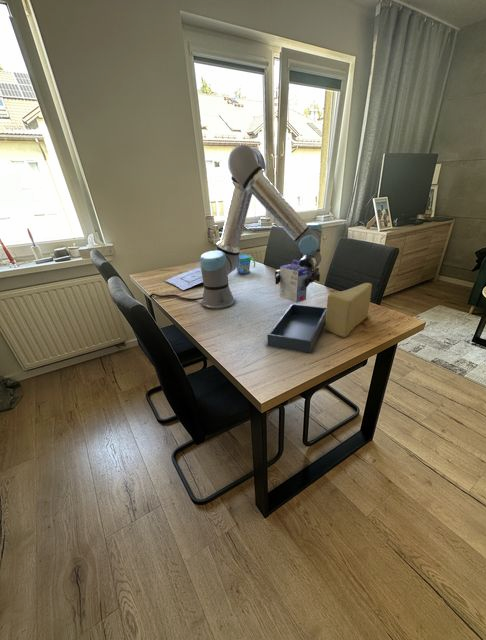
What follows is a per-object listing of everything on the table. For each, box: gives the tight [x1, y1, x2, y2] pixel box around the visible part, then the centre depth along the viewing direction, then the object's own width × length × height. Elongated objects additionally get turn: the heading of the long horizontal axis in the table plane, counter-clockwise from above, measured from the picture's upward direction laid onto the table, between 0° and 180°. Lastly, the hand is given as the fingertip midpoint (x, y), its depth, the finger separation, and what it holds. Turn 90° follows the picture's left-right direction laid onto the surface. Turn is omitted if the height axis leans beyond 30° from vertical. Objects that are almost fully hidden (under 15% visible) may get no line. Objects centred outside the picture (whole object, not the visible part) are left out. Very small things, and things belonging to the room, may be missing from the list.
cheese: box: [324, 282, 373, 338], centre depth 107 cm, size 22×10×15 cm, turn 131°
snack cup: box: [236, 254, 256, 275], centre depth 175 cm, size 16×10×10 cm
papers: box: [165, 266, 203, 291], centre depth 167 cm, size 24×30×4 cm
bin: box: [266, 303, 327, 354], centre depth 108 cm, size 16×30×4 cm, turn 158°
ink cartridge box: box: [279, 258, 308, 304], centre depth 105 cm, size 10×6×14 cm, turn 40°
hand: (290, 282), depth 103 cm, fingers closed on ink cartridge box, 11 cm apart
